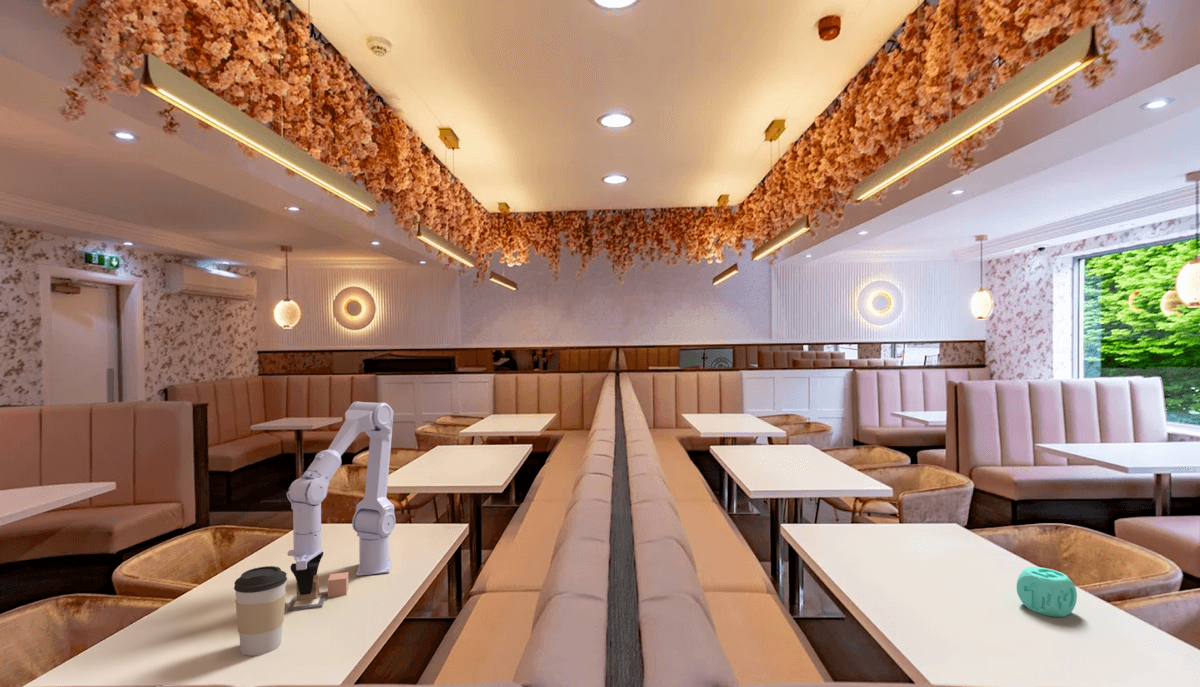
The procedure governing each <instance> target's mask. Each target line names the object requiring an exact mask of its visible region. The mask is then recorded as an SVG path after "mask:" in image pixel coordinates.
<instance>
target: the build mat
mask: <svg viewBox="0 0 1200 687" xmlns="http://www.w3.org/2000/svg"><path fill="white" fill-rule="evenodd" d="M327 596H328V592H324V593H323V592H322V593H318V596H317V598H316V599H312V600H303V601H297V595H295V596H293V597H292V600H291V601H290V602H289V605H288V608H287V609H286V610H287V612H293V611H301V610H308V609H310V610H311V609H319V608H322V607H323V604H324V602H325V600H326V598H327Z"/></svg>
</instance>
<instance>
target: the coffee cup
mask: <svg viewBox="0 0 1200 687" xmlns="http://www.w3.org/2000/svg"><path fill="white" fill-rule="evenodd" d="M287 580H288V577H287V573H286V572H285V571H283V570H282V569H281V568H280V567H279V566H275V565H274V566H272V565H270V566H269V565H267V566H259V567H254V568H252V569H248V570H246V571H244V572H243V573H241V575H240V576H239V577H238V578H236V579H235V581H234V582H233V583H234V586H233V589H234V591H235V601H234V602H235V613H236V623H237V624H236V625H237V632H238V635H239V645H240V646H239V647H240V653H241V654H242V655H243V656H253V657H254V656H260V655H264V654H267V653H271V652H272V651H275V650H277V648H279V647H280V646H281V645H282V644H281V643H282V637H283V636H282V635H283V634H282V633H283V624H284V620H285V605H286V604H285V603H286V593H287V592H286V583H287Z"/></svg>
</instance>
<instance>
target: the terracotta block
mask: <svg viewBox="0 0 1200 687" xmlns="http://www.w3.org/2000/svg"><path fill="white" fill-rule="evenodd" d="M348 591H349V572H348V571H347V572H338V573H337V572H335V573H330V574H329V576H328V580H327V598H331V597H334V598H335V597H341V596H347V594H348Z"/></svg>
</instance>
